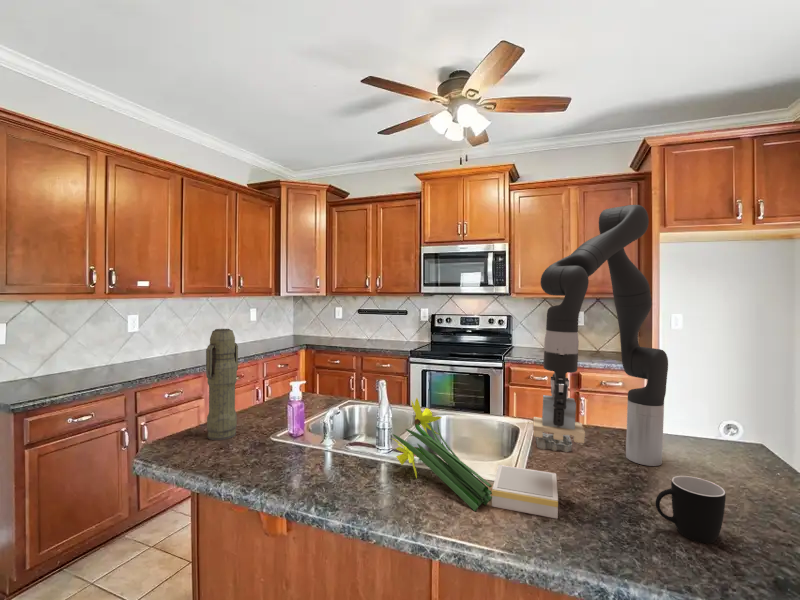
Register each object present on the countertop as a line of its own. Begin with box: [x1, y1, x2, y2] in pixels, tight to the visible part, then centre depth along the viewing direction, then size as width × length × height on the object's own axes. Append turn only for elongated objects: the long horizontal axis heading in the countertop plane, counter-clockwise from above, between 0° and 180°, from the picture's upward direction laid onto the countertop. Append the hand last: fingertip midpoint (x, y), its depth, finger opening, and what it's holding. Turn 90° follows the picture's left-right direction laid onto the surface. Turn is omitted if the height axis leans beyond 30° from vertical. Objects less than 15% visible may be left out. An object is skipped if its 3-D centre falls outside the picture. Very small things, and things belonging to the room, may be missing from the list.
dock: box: [491, 464, 559, 519], centre depth 98 cm, size 14×14×4 cm
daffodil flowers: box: [391, 397, 493, 512], centre depth 106 cm, size 17×15×35 cm
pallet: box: [532, 394, 586, 444], centre depth 97 cm, size 8×11×8 cm
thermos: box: [205, 328, 239, 441], centre depth 135 cm, size 9×12×35 cm
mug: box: [655, 475, 727, 544], centre depth 84 cm, size 12×9×10 cm
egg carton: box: [535, 432, 573, 453], centre depth 130 cm, size 11×8×4 cm
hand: (557, 421), depth 97 cm, fingers closed on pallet, 5 cm apart
